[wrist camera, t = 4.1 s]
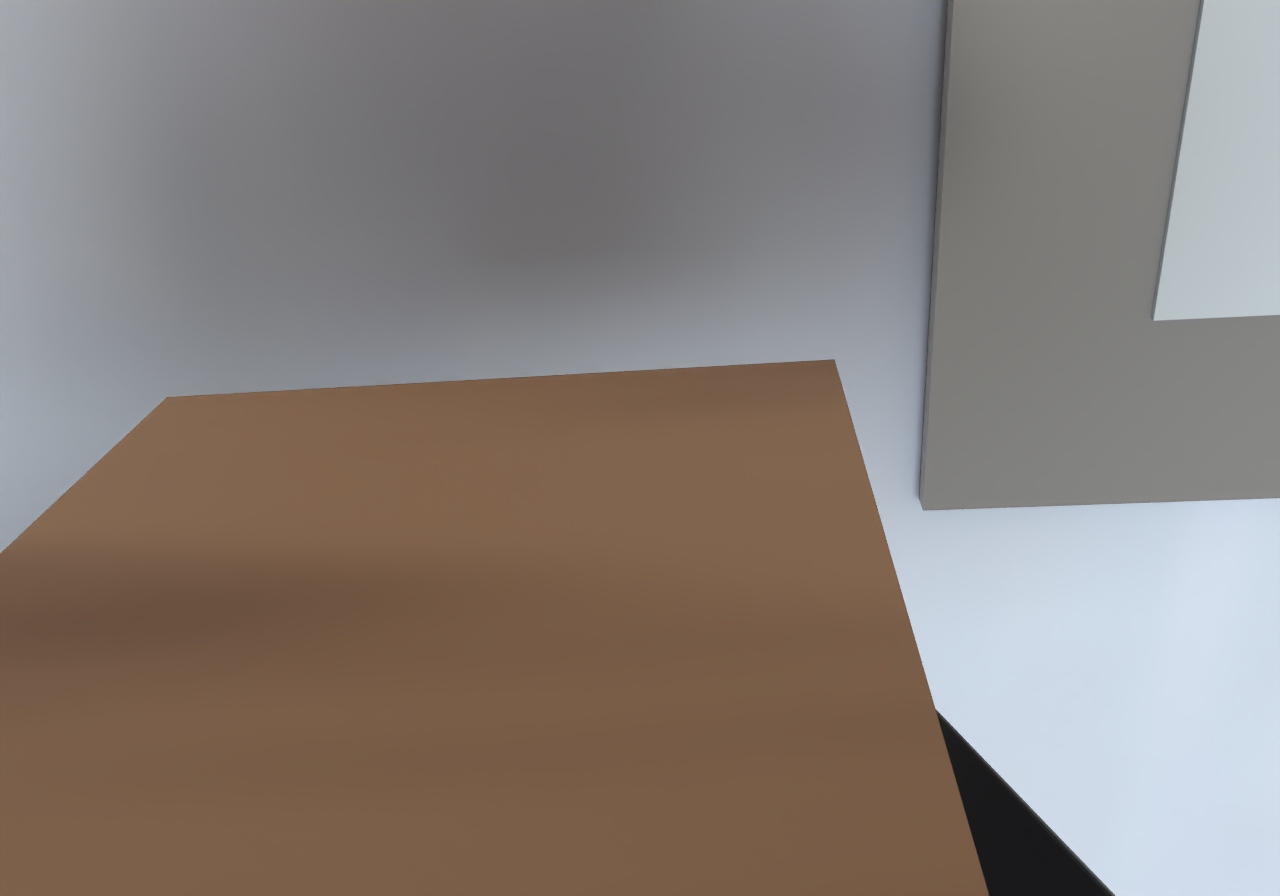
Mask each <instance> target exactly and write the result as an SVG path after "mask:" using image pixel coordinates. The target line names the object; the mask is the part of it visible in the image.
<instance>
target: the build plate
mask: <svg viewBox="0 0 1280 896" xmlns="http://www.w3.org/2000/svg"><path fill="white" fill-rule="evenodd" d="M1264 498H1280V0H948V7H947V25H946V42H945V59H944V77H943V94H942V112H941V129H940V146H939V164H938V181H937V199H936V216H935V233H934V251H933V268H932V285H931V303H930V320H929V338H928V355H927V372H926V390H925V407H924V425H923V442H922V459H921V477H920V494H919V500H920V503H921V506H922V508H923V510H950V509H978V508H1007V507H1036V506H1064V505H1093V504H1121V503H1150V502H1178V501H1207V500H1235V499H1264Z"/></svg>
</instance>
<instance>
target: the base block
mask: <svg viewBox="0 0 1280 896" xmlns="http://www.w3.org/2000/svg"><path fill="white" fill-rule="evenodd" d="M0 896H989V893H988V890H987V886H986V883H985V879H984V876H983V873H982V869H981V866H980V862H979V859H978V855H977V852H976V848H975V845H974V841H973V838H972V834H971V831H970V828H969V824H968V821H967V817H966V814H965V810H964V807H963V803H962V800H961V796H960V793H959V789H958V786H957V783H956V779H955V776H954V772H953V769H952V765H951V762H950V758H949V755H948V751H947V748H946V745H945V741H944V738H943V734H942V731H941V727H940V724H939V720H938V717H937V713H936V710H935V706H934V703H933V700H932V696H931V693H930V689H929V686H928V682H927V679H926V675H925V672H924V668H923V665H922V661H921V658H920V655H919V651H918V648H917V644H916V641H915V637H914V634H913V630H912V627H911V623H910V620H909V616H908V613H907V610H906V606H905V603H904V599H903V596H902V592H901V589H900V585H899V582H898V578H897V575H896V572H895V568H894V565H893V561H892V558H891V554H890V551H889V547H888V544H887V540H886V537H885V533H884V530H883V527H882V523H881V520H880V516H879V513H878V509H877V506H876V502H875V499H874V495H873V492H872V488H871V485H870V482H869V478H868V475H867V471H866V468H865V464H864V461H863V457H862V454H861V450H860V447H859V443H858V440H857V437H856V433H855V430H854V426H853V423H852V419H851V416H850V412H849V409H848V405H847V402H846V399H845V395H844V392H843V388H842V385H841V381H840V378H839V374H838V371H837V367H836V364H835V360H818V361H801V362H783V363H765V364H748V365H730V366H712V367H694V368H677V369H659V370H641V371H624V372H606V373H588V374H570V375H553V376H535V377H517V378H500V379H482V380H464V381H446V382H429V383H411V384H393V385H376V386H358V387H340V388H323V389H305V390H287V391H269V392H252V393H234V394H216V395H199V396H181V397H167V398H166V399H165V400H164V401H163V402H162V403H161V404H159V405H158V406H157V407H156V408H155V409H154V410H153V411H152V412H151V413H150V414H149V415H148V416H147V417H146V418H145V419H143V420H142V421H141V422H140V423H139V424H138V425H137V426H136V427H135V428H134V429H133V430H132V431H131V432H130V433H129V434H127V435H126V436H125V437H124V438H123V439H122V440H121V441H120V442H119V443H118V444H117V445H116V446H115V447H114V448H113V449H111V450H110V451H109V452H108V453H107V454H106V455H105V456H104V457H103V458H102V459H101V460H100V461H99V462H98V463H97V464H95V465H94V466H93V467H92V468H91V469H90V470H89V471H88V472H87V473H86V474H85V475H84V476H83V477H82V478H81V479H80V480H78V481H77V482H76V483H75V484H74V485H73V486H72V487H71V488H70V489H69V490H68V491H67V492H66V493H65V494H64V495H62V496H61V497H60V498H59V499H58V500H57V501H56V502H55V503H54V504H53V505H52V506H51V507H50V508H49V509H48V510H46V511H45V512H44V513H43V514H42V515H41V516H40V517H39V518H38V519H37V520H36V521H35V522H34V523H33V524H32V525H30V526H29V527H28V528H27V529H26V530H25V531H24V532H23V533H22V534H21V535H20V536H19V537H18V538H17V539H16V540H14V541H13V542H12V543H11V544H10V545H9V546H8V547H7V548H6V549H5V550H4V551H3V552H2V553H1V554H0Z"/></svg>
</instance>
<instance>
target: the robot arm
mask: <svg viewBox="0 0 1280 896" xmlns="http://www.w3.org/2000/svg"><path fill="white" fill-rule="evenodd" d="M935 710H936V709H935ZM936 713H937V717H938V720H939V724H940V727H941V731H942V734H943V738H944V741H945V745H946V748H947V751H948V755H949V758H950V762H951V765H952V769H953V772H954V776H955V779H956V783H957V786H958V789H959V793H960V796H961V800H962V803H963V807H964V810H965V814H966V817H967V821H968V824H969V828H970V831H971V834H972V838H973V841H974V845H975V848H976V852H977V855H978V859H979V862H980V866H981V869H982V873H983V876H984V879H985V883H986V886H987V890H988V893H989V896H1115V895H1114V894H1113V893H1112V892H1111V891H1110V890H1109V889H1108V887H1107V886H1106V885H1105V884H1104V883H1103V882H1102V881H1101V880H1100V879H1099V878H1098V877H1097V876H1096V875H1095V874H1094V873H1093V872H1092V871H1091V870H1090V869H1089V868H1088V867H1087V866H1086V865H1085V864H1084V863H1083V862H1082V860H1081V859H1080V858H1079V857H1078V856H1077V855H1076V854H1075V853H1074V852H1073V851H1072V850H1071V849H1070V848H1069V847H1068V846H1067V845H1066V844H1065V843H1064V842H1063V841H1062V840H1061V839H1060V838H1059V837H1058V836H1057V835H1056V834H1055V832H1054V831H1053V830H1052V829H1051V828H1050V827H1049V826H1048V825H1047V824H1046V823H1045V822H1044V821H1043V820H1042V819H1041V818H1040V817H1039V816H1038V815H1037V814H1036V813H1035V812H1034V811H1033V810H1032V809H1031V808H1030V807H1029V805H1028V804H1027V803H1026V802H1025V801H1024V800H1023V799H1022V798H1021V797H1020V796H1019V795H1018V794H1017V793H1016V792H1015V791H1014V790H1013V789H1012V788H1011V787H1010V786H1009V785H1008V784H1007V783H1006V782H1005V781H1004V780H1003V778H1002V777H1001V776H1000V775H999V774H998V773H997V772H996V771H995V770H994V769H993V768H992V767H991V766H990V765H989V764H988V763H987V762H986V761H985V760H984V759H983V758H982V757H981V756H980V755H979V754H978V753H977V752H976V750H975V749H974V748H973V747H972V746H971V745H970V744H969V743H968V742H967V741H966V740H965V739H964V738H963V737H962V736H961V735H960V734H959V733H958V732H957V731H956V730H955V729H954V728H953V727H952V726H951V725H950V723H949V722H948V721H947V720H946V719H945V718H944V717H943V716H942V715H941V714H940V713H939V712H938V711H937V710H936Z"/></svg>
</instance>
